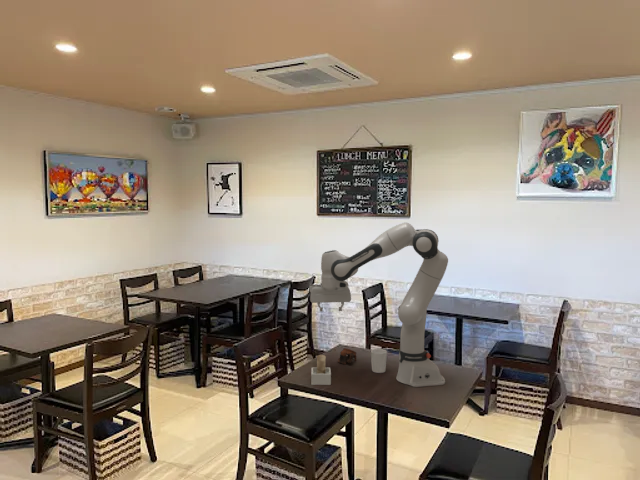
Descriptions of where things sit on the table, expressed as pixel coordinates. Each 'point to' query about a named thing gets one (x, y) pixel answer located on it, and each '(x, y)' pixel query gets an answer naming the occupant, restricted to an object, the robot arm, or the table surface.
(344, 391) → the table surface
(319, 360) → the peg
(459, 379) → the table surface
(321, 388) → the table surface
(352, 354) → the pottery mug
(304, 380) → the table surface
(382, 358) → the white cup
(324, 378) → the socket box
